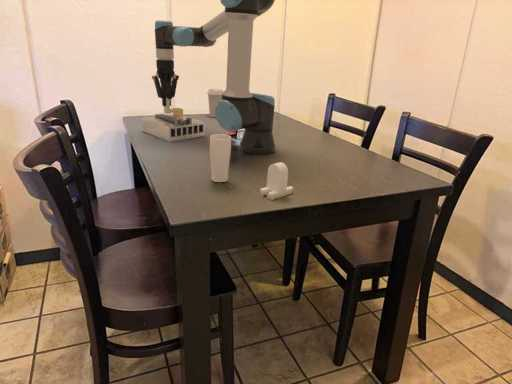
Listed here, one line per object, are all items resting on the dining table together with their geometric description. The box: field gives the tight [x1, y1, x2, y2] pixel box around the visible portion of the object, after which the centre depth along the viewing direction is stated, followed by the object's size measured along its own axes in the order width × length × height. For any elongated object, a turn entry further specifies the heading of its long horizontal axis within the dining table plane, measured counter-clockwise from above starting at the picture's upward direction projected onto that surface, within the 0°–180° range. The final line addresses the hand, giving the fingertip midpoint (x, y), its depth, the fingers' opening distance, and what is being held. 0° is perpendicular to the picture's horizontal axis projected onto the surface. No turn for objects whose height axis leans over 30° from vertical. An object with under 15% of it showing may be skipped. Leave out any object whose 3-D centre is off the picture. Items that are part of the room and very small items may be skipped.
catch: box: [170, 107, 184, 116], centre depth 185 cm, size 4×8×3 cm, turn 135°
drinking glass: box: [209, 133, 232, 183], centre depth 124 cm, size 7×7×15 cm
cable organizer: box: [259, 161, 294, 197], centre depth 117 cm, size 5×10×10 cm, turn 133°
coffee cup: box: [206, 88, 224, 118], centre depth 219 cm, size 10×10×15 cm
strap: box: [154, 113, 188, 125], centre depth 176 cm, size 21×4×2 cm, turn 45°
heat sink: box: [141, 113, 205, 143], centre depth 178 cm, size 22×19×9 cm
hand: (167, 113), depth 177 cm, fingers closed
